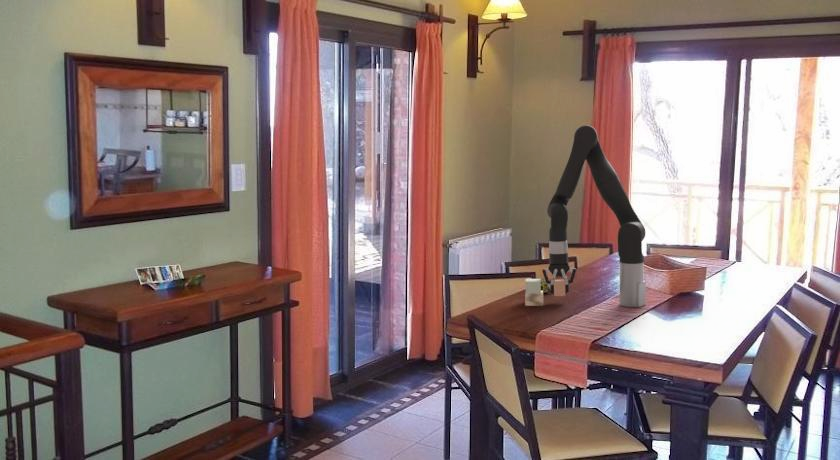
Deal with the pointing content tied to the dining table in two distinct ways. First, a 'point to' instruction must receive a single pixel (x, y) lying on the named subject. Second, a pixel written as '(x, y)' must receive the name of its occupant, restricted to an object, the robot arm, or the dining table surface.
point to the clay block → (559, 287)
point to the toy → (545, 286)
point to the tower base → (534, 299)
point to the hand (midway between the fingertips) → (559, 293)
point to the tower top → (533, 286)
